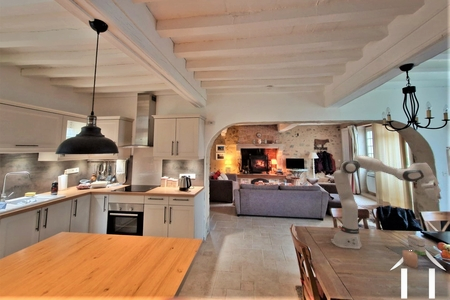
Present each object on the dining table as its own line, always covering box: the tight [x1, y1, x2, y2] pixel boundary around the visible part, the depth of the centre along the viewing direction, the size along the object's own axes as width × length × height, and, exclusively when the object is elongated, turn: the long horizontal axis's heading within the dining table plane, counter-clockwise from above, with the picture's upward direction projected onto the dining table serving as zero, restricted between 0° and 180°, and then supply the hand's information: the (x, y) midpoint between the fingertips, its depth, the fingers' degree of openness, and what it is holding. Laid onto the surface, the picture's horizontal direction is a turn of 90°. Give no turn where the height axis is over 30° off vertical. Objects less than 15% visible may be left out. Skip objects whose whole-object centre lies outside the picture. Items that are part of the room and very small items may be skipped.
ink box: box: [407, 234, 427, 256], centre depth 136 cm, size 9×5×12 cm, turn 178°
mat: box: [386, 246, 425, 259], centre depth 136 cm, size 13×16×1 cm
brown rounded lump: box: [402, 249, 419, 269], centre depth 121 cm, size 7×7×8 cm
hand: (438, 200), depth 129 cm, fingers open, 8 cm apart
